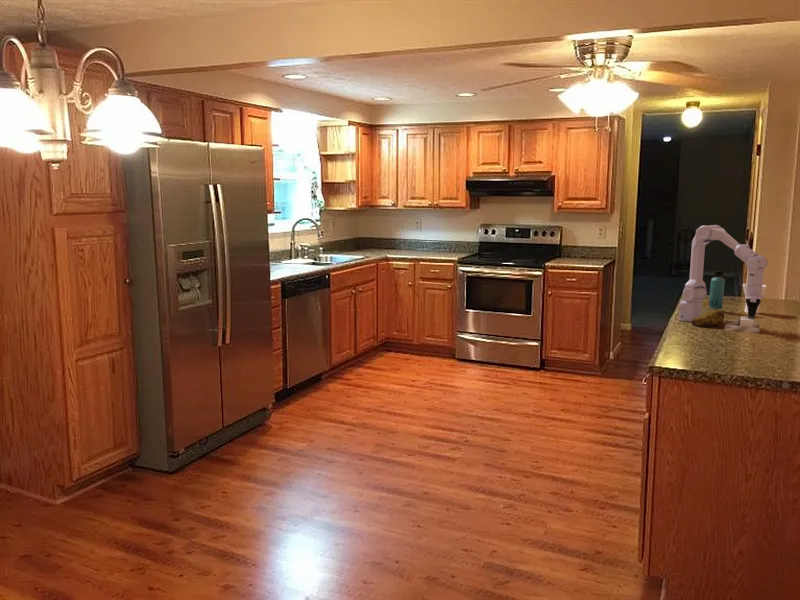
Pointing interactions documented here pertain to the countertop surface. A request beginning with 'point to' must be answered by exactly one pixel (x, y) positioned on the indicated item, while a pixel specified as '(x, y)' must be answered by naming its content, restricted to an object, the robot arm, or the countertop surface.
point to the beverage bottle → (716, 291)
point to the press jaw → (746, 321)
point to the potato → (709, 319)
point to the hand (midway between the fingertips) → (751, 316)
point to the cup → (749, 298)
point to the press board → (734, 327)
